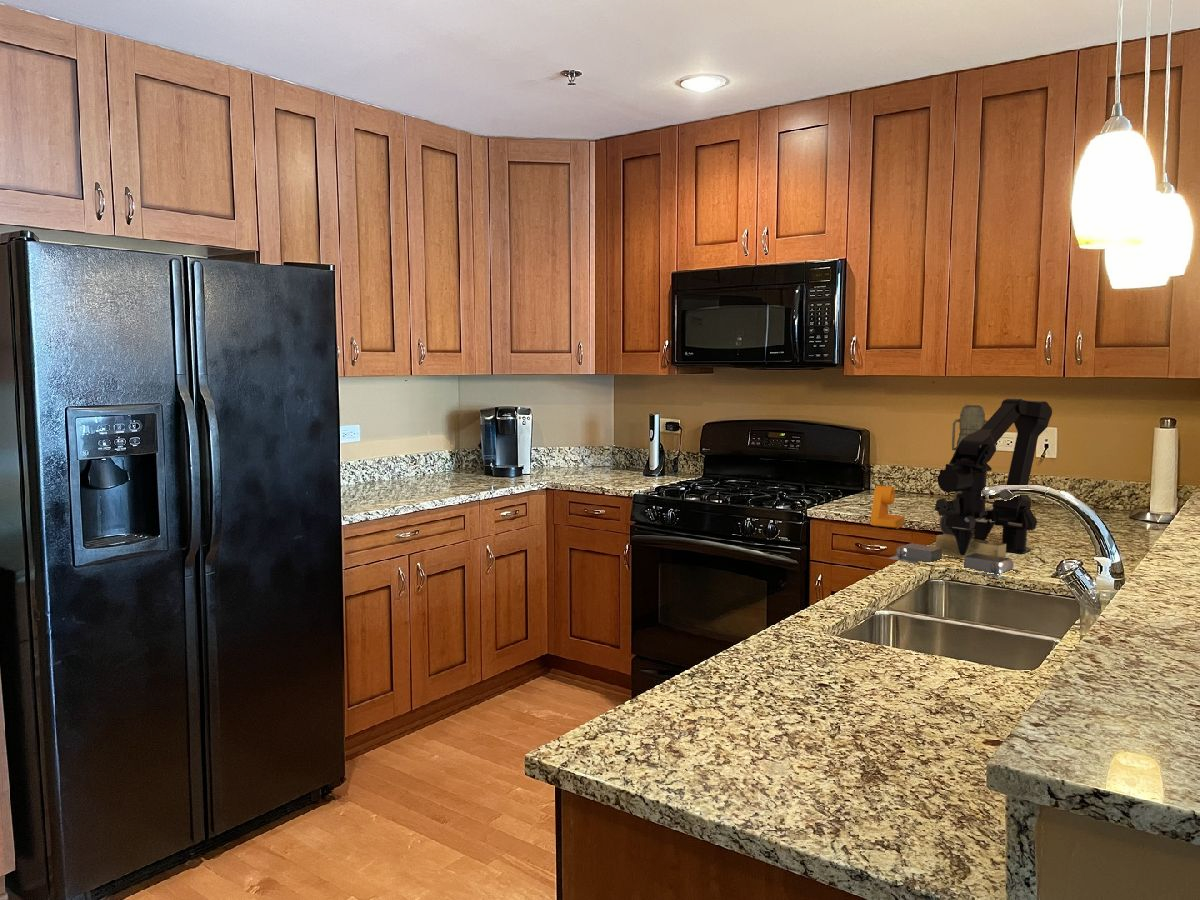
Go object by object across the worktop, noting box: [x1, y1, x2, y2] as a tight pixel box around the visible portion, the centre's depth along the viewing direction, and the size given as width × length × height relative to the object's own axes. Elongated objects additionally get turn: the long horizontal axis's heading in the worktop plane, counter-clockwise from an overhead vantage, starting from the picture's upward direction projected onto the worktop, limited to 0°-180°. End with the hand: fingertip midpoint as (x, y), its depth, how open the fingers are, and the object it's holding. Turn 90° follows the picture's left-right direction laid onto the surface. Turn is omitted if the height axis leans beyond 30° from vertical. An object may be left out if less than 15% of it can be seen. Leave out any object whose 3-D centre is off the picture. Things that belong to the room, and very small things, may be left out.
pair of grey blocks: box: [888, 543, 1021, 579], centre depth 213 cm, size 10×28×3 cm, turn 45°
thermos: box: [951, 404, 988, 500], centre depth 292 cm, size 9×12×35 cm
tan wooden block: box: [935, 533, 1007, 559], centre depth 220 cm, size 4×16×5 cm, turn 39°
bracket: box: [870, 485, 905, 530], centre depth 264 cm, size 11×7×12 cm, turn 147°
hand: (970, 552), depth 220 cm, fingers open, 9 cm apart
